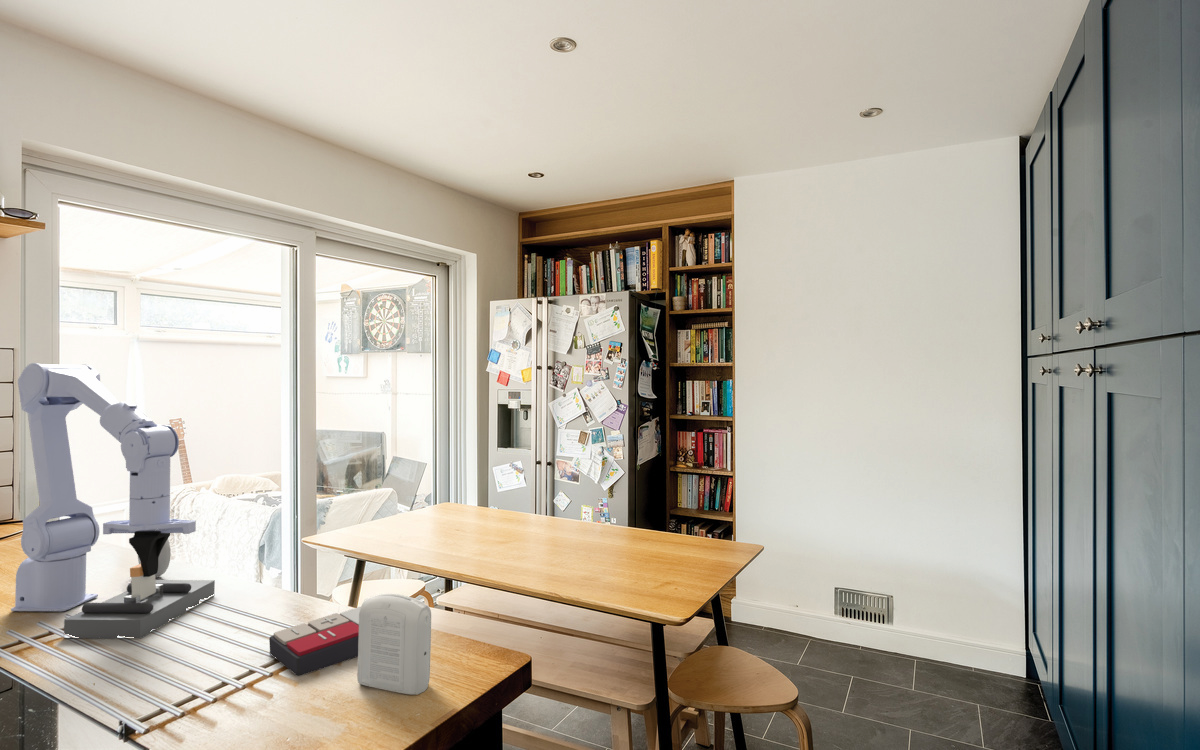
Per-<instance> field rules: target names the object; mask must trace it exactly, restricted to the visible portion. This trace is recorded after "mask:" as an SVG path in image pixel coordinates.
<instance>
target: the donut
mask: <svg viewBox="0 0 1200 750" xmlns="http://www.w3.org/2000/svg"><path fill="white" fill-rule="evenodd" d="M171 550H172V549H171V544H170V540H169V538H168V539H167V541H166V543H165V544H164V546H163V548H162V550H161V552H160V555H159V558H158V572H157V574H155V579H156V578H159V577H161V576H163V575H164V574H165V573H166V571H167V570H168V569H169V566H170V562H171V556H172V555H171V554H172V553H171V552H172V551H171ZM137 560H138V565H139V564H141V561H140V558H139V556H138V555H137Z"/></svg>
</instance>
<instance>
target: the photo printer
mask: <svg viewBox="0 0 1200 750" xmlns="http://www.w3.org/2000/svg"><path fill="white" fill-rule="evenodd" d="M360 607H361V608H360V613H359V639H358V656H357V675H356V676H357V683H358V684H359V685H363V686H366V687H371V688H376V689H381V690H385V691H389V692H395V693H399V694H404V695H405V694H406V695H415V696H416V695H417V696H418V695H420V694H422V693H424V692H425V691H426V690H427V689H428V687H429V683H430V678H431V677H430V676H431V651H432V650H431V649H432V644H431V643H432V610H431V607H430V606H429V605H428V604H426V603H425V602H424V601H421V600H419V599H417V598H414V597H412V596H408V595H404V594H399V593H380V594H375V595H371V596H370V597H368V598H365V599H364V600H363V602H362V603H361V606H360Z"/></svg>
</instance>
